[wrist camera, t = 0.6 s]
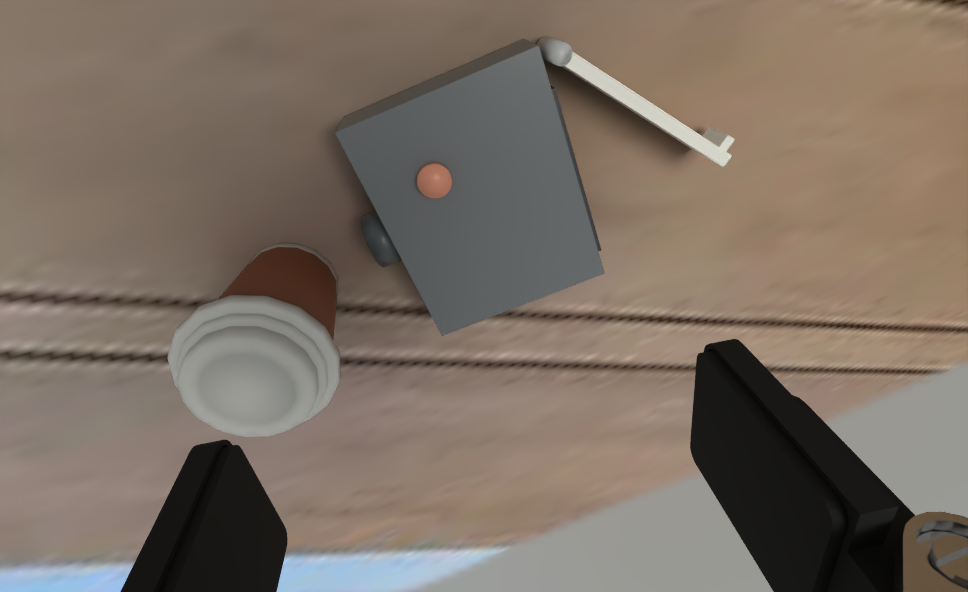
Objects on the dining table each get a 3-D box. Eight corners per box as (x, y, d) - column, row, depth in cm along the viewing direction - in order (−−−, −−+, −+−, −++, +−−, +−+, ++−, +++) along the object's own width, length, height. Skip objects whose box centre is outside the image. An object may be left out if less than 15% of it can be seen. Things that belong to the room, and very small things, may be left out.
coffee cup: (346, 343, 41) (323, 460, 31) (223, 323, 39) (153, 442, 28) (367, 240, 37) (348, 336, 26) (229, 211, 35) (151, 303, 24)
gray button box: (528, 36, 31) (546, 44, 27) (589, 244, 39) (611, 275, 35) (321, 126, 32) (306, 146, 28) (420, 310, 40) (421, 349, 36)
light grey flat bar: (548, 21, 31) (565, 24, 27) (709, 128, 35) (741, 142, 32) (532, 52, 31) (546, 59, 28) (692, 152, 36) (721, 169, 32)
